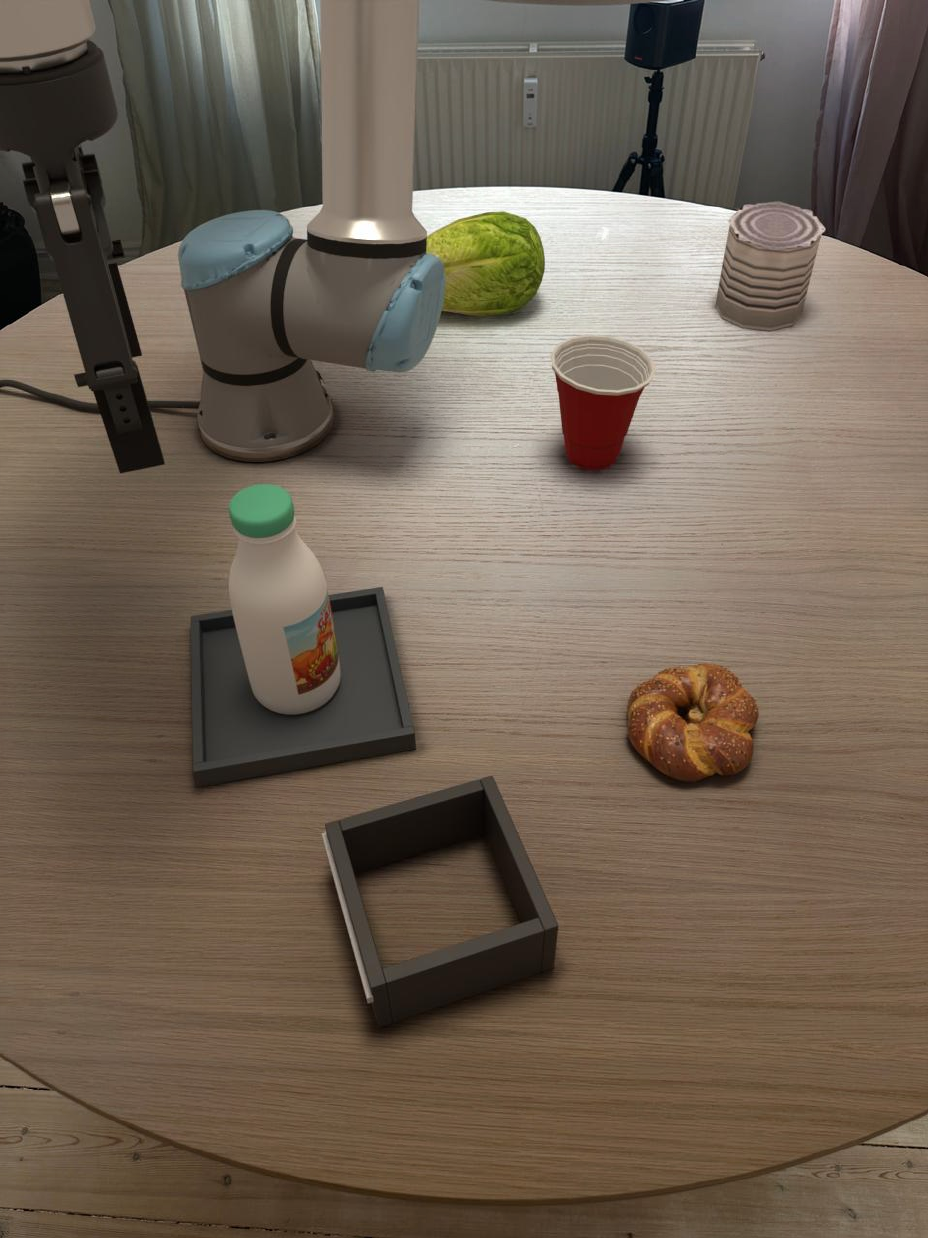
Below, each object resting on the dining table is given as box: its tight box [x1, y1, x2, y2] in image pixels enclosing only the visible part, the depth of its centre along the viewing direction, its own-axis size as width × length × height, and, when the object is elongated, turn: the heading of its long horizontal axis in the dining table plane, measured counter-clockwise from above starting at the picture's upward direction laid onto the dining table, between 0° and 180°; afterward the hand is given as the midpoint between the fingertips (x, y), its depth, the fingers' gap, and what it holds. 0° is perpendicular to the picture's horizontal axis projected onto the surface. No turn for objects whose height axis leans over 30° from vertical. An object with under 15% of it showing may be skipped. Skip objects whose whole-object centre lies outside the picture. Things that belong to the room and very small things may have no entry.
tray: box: [189, 586, 417, 787], centre depth 85 cm, size 18×18×2 cm
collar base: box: [321, 775, 559, 1028], centre depth 68 cm, size 13×13×6 cm
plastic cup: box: [550, 334, 657, 471], centre depth 104 cm, size 11×11×12 cm
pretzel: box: [626, 662, 760, 782], centre depth 80 cm, size 12×11×4 cm
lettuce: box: [426, 210, 546, 317], centre depth 129 cm, size 13×22×14 cm
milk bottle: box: [228, 483, 341, 715], centre depth 78 cm, size 8×8×20 cm
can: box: [714, 200, 826, 332], centre depth 127 cm, size 11×11×12 cm
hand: (131, 407), depth 65 cm, fingers open, 13 cm apart
